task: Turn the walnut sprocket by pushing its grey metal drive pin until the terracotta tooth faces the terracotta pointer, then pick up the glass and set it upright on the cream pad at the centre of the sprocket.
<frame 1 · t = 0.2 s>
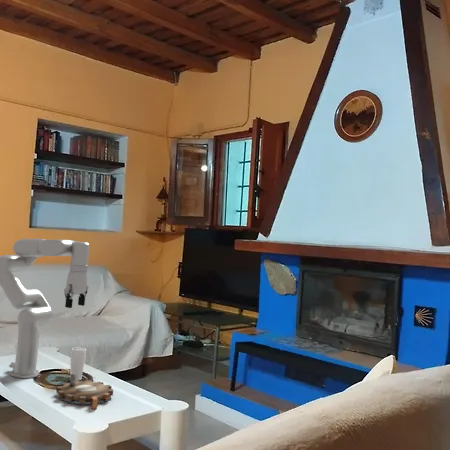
hand: (74, 306, 237), 36 cm above the table, tool pointing down, fingers open, 9 cm apart
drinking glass: (75, 380, 245), on the table
sprocket: (86, 385, 226), point 5 cm above the table, hinge at 0.0°
sprocket stand: (84, 396, 226), on the table
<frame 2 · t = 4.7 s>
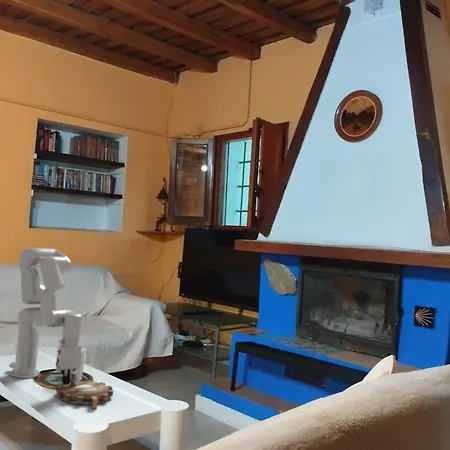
hand: (65, 383, 226), 4 cm above the table, tool pointing down, fingers closed
sprocket: (86, 385, 226), point 5 cm above the table, hinge at -5.2°, touching gripper
everything else where it was.
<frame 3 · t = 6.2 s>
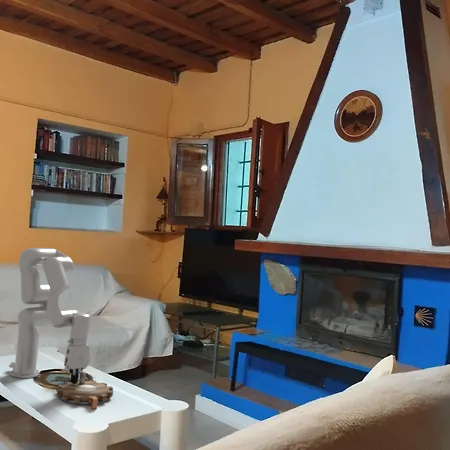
hand: (73, 382, 229), 4 cm above the table, tool pointing down, fingers closed
sprocket: (86, 385, 226), point 5 cm above the table, hinge at -40.8°, touching gripper
everything else where it was.
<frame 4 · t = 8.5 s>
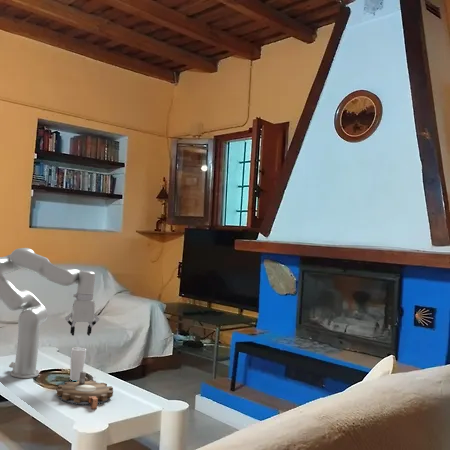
hand: (80, 334, 245), 22 cm above the table, tool pointing down, fingers open, 6 cm apart
sprocket: (86, 385, 226), point 5 cm above the table, hinge at -40.8°
everything else where it was.
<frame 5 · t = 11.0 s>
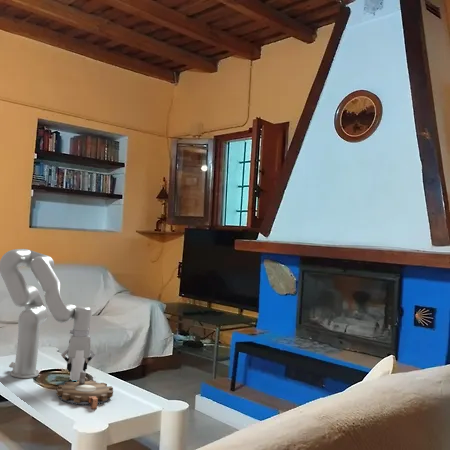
hand: (76, 370, 245), 5 cm above the table, tool pointing down, fingers closed on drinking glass, 6 cm apart
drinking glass: (75, 380, 245), on the table, touching gripper
everything else where it was.
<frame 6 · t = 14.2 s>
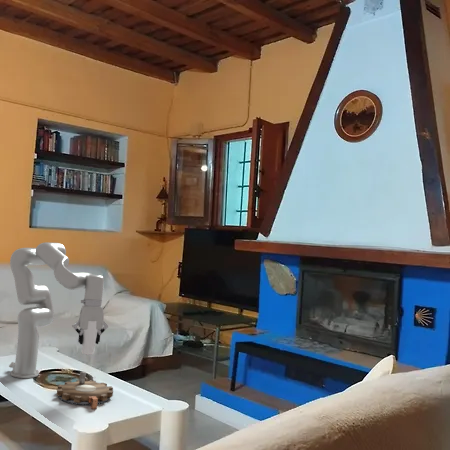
hand: (88, 343, 229), 22 cm above the table, tool pointing down, fingers closed on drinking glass, 6 cm apart
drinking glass: (87, 354, 229), point 17 cm above the table, touching gripper
everything else where it was.
when the fingers open (9 cm above the table, at t = 17.4 s): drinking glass drops 1 cm, resting on sprocket.
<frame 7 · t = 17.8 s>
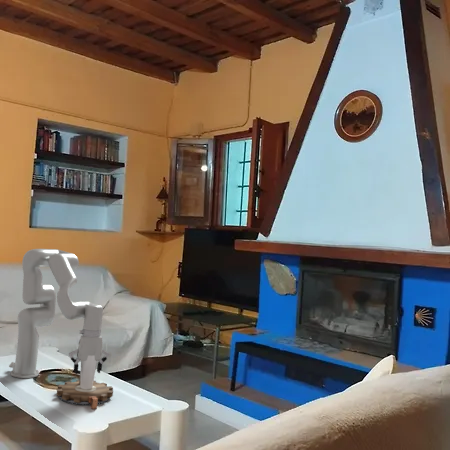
hand: (87, 372, 226), 10 cm above the table, tool pointing down, fingers open, 9 cm apart
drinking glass: (86, 388, 226), point 3 cm above the table, touching sprocket
sprocket: (86, 385, 226), point 5 cm above the table, hinge at -40.8°, touching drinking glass
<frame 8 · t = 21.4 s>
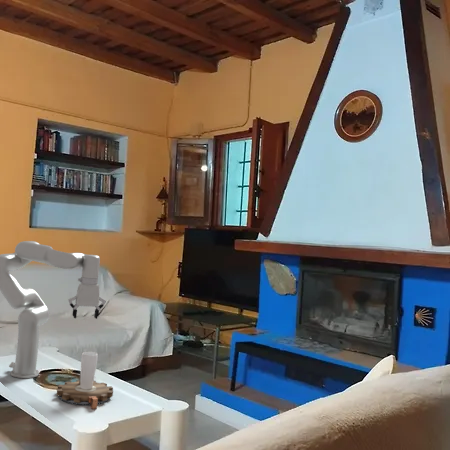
hand: (85, 318, 242), 30 cm above the table, tool pointing down, fingers open, 9 cm apart
nothing on the table moved.
at the end: sprocket at -41° (first picture: +0°); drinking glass 0.3 cm from the sprocket (horizontally); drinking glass tilted 0° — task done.
